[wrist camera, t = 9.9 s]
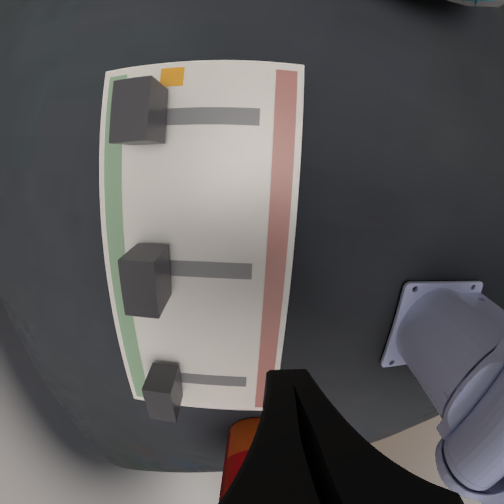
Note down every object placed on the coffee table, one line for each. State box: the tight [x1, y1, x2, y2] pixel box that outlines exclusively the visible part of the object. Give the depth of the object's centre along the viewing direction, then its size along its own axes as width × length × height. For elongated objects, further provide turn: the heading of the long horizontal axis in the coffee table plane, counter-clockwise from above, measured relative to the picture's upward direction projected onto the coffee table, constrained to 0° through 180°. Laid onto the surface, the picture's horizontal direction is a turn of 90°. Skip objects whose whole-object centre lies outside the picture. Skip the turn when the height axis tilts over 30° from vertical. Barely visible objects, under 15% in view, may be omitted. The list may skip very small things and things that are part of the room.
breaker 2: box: [118, 243, 172, 319], centre depth 15 cm, size 2×3×3 cm, turn 177°
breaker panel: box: [99, 60, 304, 411], centre depth 18 cm, size 12×25×2 cm, turn 177°
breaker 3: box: [142, 362, 183, 423], centre depth 18 cm, size 2×3×3 cm, turn 177°
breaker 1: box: [109, 75, 168, 145], centre depth 13 cm, size 2×3×3 cm, turn 177°
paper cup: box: [219, 417, 261, 502], centre depth 18 cm, size 8×8×14 cm
